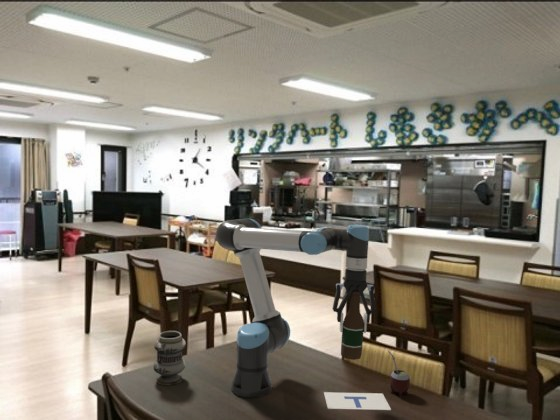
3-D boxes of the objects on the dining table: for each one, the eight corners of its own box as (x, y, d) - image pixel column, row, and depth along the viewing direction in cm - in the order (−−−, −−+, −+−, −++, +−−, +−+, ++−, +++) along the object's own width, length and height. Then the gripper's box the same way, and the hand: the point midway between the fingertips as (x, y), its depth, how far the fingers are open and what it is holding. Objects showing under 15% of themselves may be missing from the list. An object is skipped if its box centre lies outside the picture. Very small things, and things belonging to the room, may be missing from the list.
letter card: (327, 409, 157) (327, 408, 157) (323, 392, 169) (323, 392, 169) (391, 410, 157) (391, 409, 157) (382, 394, 169) (382, 393, 169)
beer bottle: (347, 349, 169) (352, 286, 168) (366, 356, 164) (370, 291, 163) (336, 355, 163) (340, 290, 162) (354, 362, 158) (359, 294, 157)
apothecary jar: (161, 389, 167) (162, 341, 166) (148, 378, 176) (148, 332, 175) (190, 381, 175) (191, 335, 174) (176, 370, 184) (177, 327, 183)
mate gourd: (411, 398, 167) (413, 358, 166) (389, 397, 167) (391, 357, 166) (405, 388, 174) (407, 350, 173) (385, 388, 174) (387, 349, 173)
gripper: (328, 269, 158) (325, 333, 160) (387, 272, 158) (383, 336, 160) (326, 265, 166) (323, 326, 167) (382, 267, 166) (378, 328, 167)
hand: (352, 331), depth 164 cm, fingers closed on beer bottle, 8 cm apart
